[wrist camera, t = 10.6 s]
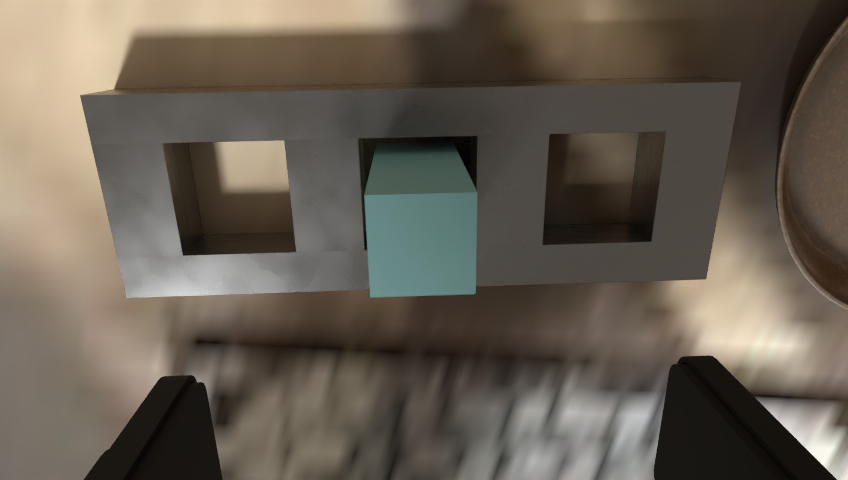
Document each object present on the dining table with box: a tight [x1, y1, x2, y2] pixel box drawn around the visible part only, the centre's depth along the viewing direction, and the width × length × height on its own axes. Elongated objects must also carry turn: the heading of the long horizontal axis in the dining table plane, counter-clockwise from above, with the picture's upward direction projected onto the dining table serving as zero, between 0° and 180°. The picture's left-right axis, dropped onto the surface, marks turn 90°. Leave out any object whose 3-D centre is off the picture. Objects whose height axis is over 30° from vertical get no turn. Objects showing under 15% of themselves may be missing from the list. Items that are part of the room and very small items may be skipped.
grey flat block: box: [80, 77, 741, 298], centre depth 28 cm, size 10×30×3 cm, turn 91°
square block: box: [364, 142, 477, 298], centre depth 25 cm, size 4×4×10 cm
